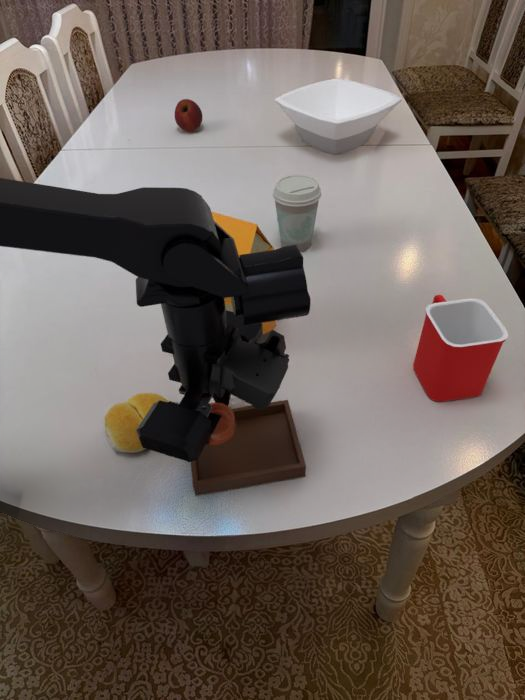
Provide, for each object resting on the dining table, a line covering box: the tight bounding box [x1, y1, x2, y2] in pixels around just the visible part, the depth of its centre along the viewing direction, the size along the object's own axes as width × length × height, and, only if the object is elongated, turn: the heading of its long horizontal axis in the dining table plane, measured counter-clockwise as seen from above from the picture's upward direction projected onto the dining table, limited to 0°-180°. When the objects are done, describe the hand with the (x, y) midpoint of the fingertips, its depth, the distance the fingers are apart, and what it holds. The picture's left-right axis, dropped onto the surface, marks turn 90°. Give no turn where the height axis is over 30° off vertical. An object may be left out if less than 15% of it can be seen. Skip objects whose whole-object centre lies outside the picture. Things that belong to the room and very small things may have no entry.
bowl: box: [274, 77, 402, 155], centre depth 124 cm, size 24×25×10 cm
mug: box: [412, 294, 510, 402], centre depth 67 cm, size 12×8×11 cm
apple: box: [174, 98, 203, 133], centre depth 133 cm, size 7×8×8 cm
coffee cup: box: [272, 174, 322, 252], centre depth 90 cm, size 9×8×12 cm
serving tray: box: [190, 399, 307, 497], centre depth 61 cm, size 13×10×2 cm
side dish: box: [209, 401, 236, 445], centre depth 58 cm, size 5×5×2 cm
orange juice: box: [211, 211, 277, 335], centre depth 71 cm, size 8×9×20 cm
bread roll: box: [104, 392, 170, 454], centre depth 64 cm, size 8×9×4 cm
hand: (214, 425), depth 58 cm, fingers closed on side dish, 5 cm apart
